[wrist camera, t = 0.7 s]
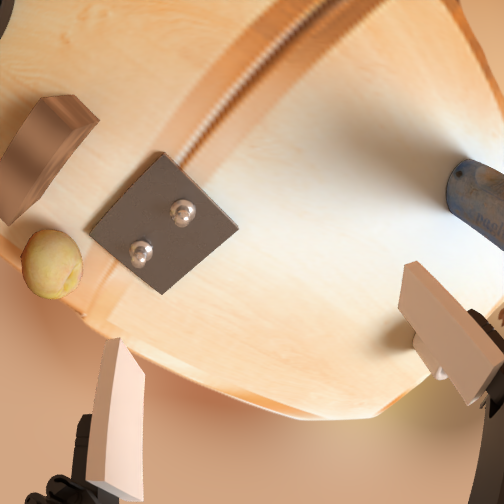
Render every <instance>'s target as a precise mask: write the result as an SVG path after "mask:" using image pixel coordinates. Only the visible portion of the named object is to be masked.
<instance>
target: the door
mask: <svg viewBox="0 0 504 504" xmlns="http://www.w3.org/2000/svg"><path fill="white" fill-rule="evenodd" d="M99 121H100V120H99V119H98V118H97V117H96V116H95V115H94V114H93V113H92V112H91V111H90V110H89V109H88V108H87V107H86V106H85V105H84V104H83V103H82V102H81V101H80V100H79V99H78V98H77V97H76V96H75V95H65V96H55V97H46V98H41V99H40V100H39V101H38V103H37V104H36V105H35V107H34V108H33V110H32V111H31V112H30V114H29V115H28V117H27V118H26V120H25V121H24V123H23V124H22V126H21V127H20V129H19V130H18V132H17V134H16V135H15V137H14V138H13V140H12V142H11V143H10V145H9V147H8V148H7V150H6V152H5V153H4V155H3V157H2V159H1V161H0V218H1V219H2V220H3V221H4V222H5V223H6V224H7V225H8V226H10V225H11V224H12V223H13V222H14V221H15V220H16V219H17V218H18V217H19V216H21V215H22V214H23V213H24V212H25V211H26V210H27V209H28V208H29V207H31V206H32V205H33V204H34V203H35V202H36V201H38V200H39V199H40V198H41V196H42V195H43V193H44V192H45V190H46V189H47V188H48V186H49V185H50V183H51V182H52V180H53V179H54V178H55V176H56V175H57V173H58V172H59V171H60V169H61V168H62V167H63V165H64V164H65V163H66V161H67V160H68V159H69V157H70V156H71V155H72V154H73V152H74V151H75V150H76V149H77V147H78V146H79V145H80V144H81V142H82V141H83V140H84V139H85V138H86V136H87V135H88V134H89V133H90V132H91V130H92V129H93V128H94V127H95V126H96V125H97V124H98V122H99Z"/></svg>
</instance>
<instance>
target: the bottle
mask: <svg viewBox="0 0 504 504" xmlns="http://www.w3.org/2000/svg"><path fill="white" fill-rule="evenodd" d="M447 203H448V207H449V209H450V211H451V212H452V214H454V215H455V216H456V217H458V218H459V219H461V220H462V221H464V222H465V223H467V224H468V225H469V226H471V227H472V228H473V229H475V230H476V231H478V232H479V233H480V234H482V235H483V236H484V237H486V238H487V239H488V240H490V241H491V242H492V243H494V244H495V245H496V246H498V247H499V248H500V249H501V250H503V251H504V174H502V173H500V172H499V171H497V170H495V169H493V168H491V167H489V166H487V165H484V164H482V163H480V162H477V161H475V160H465V161H463V162H461V163H460V164H459V165H458V166H457V167H456V168H455V169H454V171H453V172H452V174H451V176H450V179H449V181H448V186H447Z"/></svg>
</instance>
